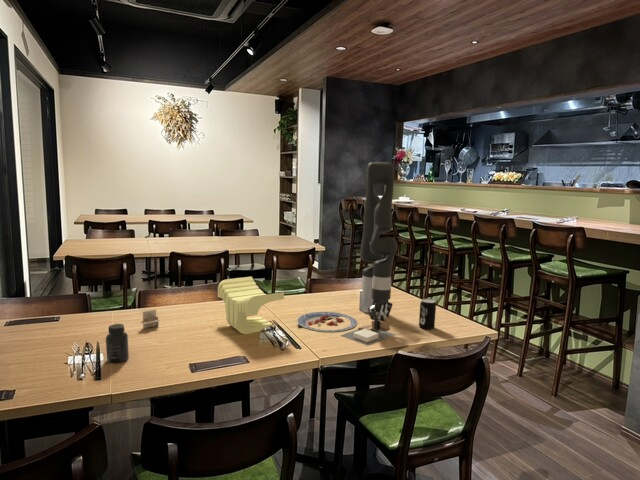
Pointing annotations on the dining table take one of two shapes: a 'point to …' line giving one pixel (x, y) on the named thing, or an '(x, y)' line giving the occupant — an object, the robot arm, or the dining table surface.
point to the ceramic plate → (322, 317)
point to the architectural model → (150, 319)
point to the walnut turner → (383, 326)
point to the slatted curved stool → (245, 303)
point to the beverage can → (427, 314)
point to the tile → (365, 335)
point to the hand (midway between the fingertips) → (379, 328)
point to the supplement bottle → (117, 344)
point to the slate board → (382, 336)
